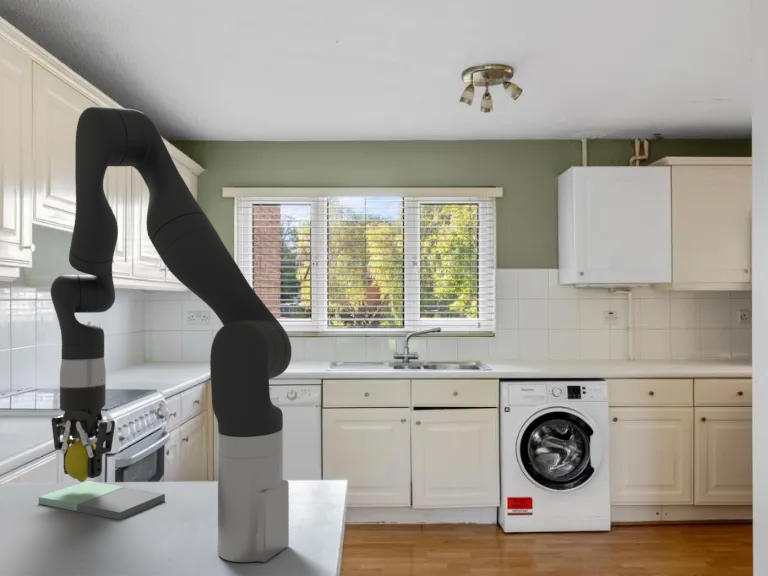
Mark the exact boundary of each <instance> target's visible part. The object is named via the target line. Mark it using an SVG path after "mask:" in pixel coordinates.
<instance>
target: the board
mask: <svg viewBox="0 0 768 576" xmlns="http://www.w3.org/2000/svg"><path fill="white" fill-rule="evenodd" d="M165 501H166V493H162V492H157V491H150V490H144V489H139V488H132V487H126V486H121V485H114V484H107V483H102V482H95V481H92V480H91V481H90V480H85V481H84V482H80V483H77V484H73V485H70V486H68V487H64V488H61V489H58V490H55V491H52V492H50V493H47V494H42V495H40V496H38V504H39V505H42V506H43V505H44V506H45V505H46V506H49V507H53V508H55V507H56V508H58V509H65V510H69V511H75V512H79V513H83V514H90V515H95V516H99V517H105V518H110V519H114V520H122V519H125V518H127V517H129V516H132V515H134V514H136V513H139V512H141V511H143V510H146V509H147V508H148V509H149V508H150V507H152V506H155V505H157V504H159V503H162V502H165Z"/></svg>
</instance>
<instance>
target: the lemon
mask: <svg viewBox="0 0 768 576" xmlns="http://www.w3.org/2000/svg"><path fill="white" fill-rule="evenodd" d="M71 444H72V443H71ZM93 448H94V450H95V449H96V445H95V444H93ZM88 458H89V456H88V452H87V449H86V447H85V446H83V444H82V440H81V439H80V440H79V441H77V442H75V443H74V444H72V445H71V446H70V448H69V449H68V451H67V454H66V458H65V467H66V471H67V473H68V474H67V475H69V477H71V478H72V479H75V480H77V481H78V482H80V483H82V482H85V481H87V479H88V478H89V477H88Z"/></svg>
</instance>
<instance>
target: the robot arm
mask: <svg viewBox="0 0 768 576" xmlns="http://www.w3.org/2000/svg"><path fill="white" fill-rule="evenodd" d="M74 148H75V149H74V150H75V152H74V153H75V159H74V161H75V169H74V170H75V173H74V174H75V176H74V178H75V179H74V180H75V218H74V225H73V230H72V237H71V242H70V248H69V252H68V261H69V264H70V266H71V267H72V268H73V269H74V270H76V271H78V272H80V273H83V274H60V275H59V276H58V277H56V278H55V279H54V281H53V282H52V284H51V286H50V297H51V302H52V304H53V305H52V306H53V308H54V311H55V314H56V317H57V320H58V321H57V322H58V324H59V328H60V335H61V363H60V368H59V409H60V411H62V412H64V413H63V415H58V416H53V417H52V418H51V428H52V438H53V445H54V449H55V450H59V451H60V452H61V454H63V473H64V475H69V474H68V473H67V471H66V467H65V458H66V454H67V451H68V449H69V448H70V446H71V445H72V444H74V443H75V442H77V441H79V440H80V439H81V440H82V444H83V446H85V447H86V449H87V452H88V456H89V458H88V478H89V479H95V478H98V477H100V476H101V474H102V472H103V455H104V454H108V453H110V452H112V447H113V441H114V434H115V426H116V421H115V420H114V419H110V420H106V419H104V418H103V415H102V409H103V408H104V407H105V406H106V400H107V399H106V398H107V397H106V396H107V395H106V386H107V384H106V382H107V381H106V380H107V377H106V374H107V370H106V363H105V331H104V329H103V328H101V326H100V327H99V326H96V325H92V324H91V325H89V324H85V323H82V322H80V321H79V320H78V319H77V318H76V315H75V314H78V313H79V314H83V313H84V314H88V313H93V314H94V313H95V314H96V313H104V312H107V311H108V310H110V309H111V308H112V307H113V306H114V303H115V300H116V289H115V285H114V278H113V260H114V256H115V251H116V247H117V242H118V235H119V226H118V220H117V218H116V216H115V213H114V211H113V209H112V207H111V204H110V203H109V201H108V198H107V196H106V193H105V190H104V179H105V174H106V171H107V168H108V167H133V168H134V169H136V171H138V173H139V174H140V176H141V177H142V179H143V181H144V183H145V185H146V187H147V188H148V189H147V190H148V194H149V199H148V205H147V212H146V221H145V222H146V232H147V235H148V236H147V237H148V239H149V240H150V242H151V244H152V246H153V247H154V249H155V250H156V252H157V254H158V255H159V257H160V258H161V260H162V262H163V264H164V265H165V266H166V268H167V269H168V270H169V271H170V273H171V274H172V275H173V276H174V277H175V278H176V279H177V280H178V281H179V282H180V283H181V284H182V285H183V286H185V287H186V288H187V289H188V290H189V291H191V292H192V294H194V295H195V296H197V297H198V298H199V299H200V300H201V301H203V302H204V303H205V304H206V305H207V306H208V307H209V308H210V309H211V310H212V311H213V312H214V313H215V315H216V316H217V317H218V319H219V320H220V322H221V323H222V325H223V326H221V328H220V329H218V331H217V332H216V334H215V336H213V341H212V344H211V348H210V360H209V366H210V368H209V369H210V386H211V387H210V389H211V404H212V411H213V414H214V415H215V418H216V421H217V555H218V556H219V557H220V558H222V559H223V560H226V561H229V562H232V563H233V562H234V563H251V562H253V563H254V562H261V563H266V562H267V561H269V560H271V558H273V557H274V556H276V555H277V554H279V553H280V552H282V551H283V550H284V549H286V548H287V547H289V546H290V545H289V535H290V533H289V531H290V529H289V527H290V525H289V524H290V523H289V521H290V516H289V515H290V513H289V510H290V507H289V505H290V504H289V503H290V502H289V499H290V497H289V492H290V491H289V490H290V488H289V481H288V480H287V479H284V473H283V472H284V467H283V465H284V464H283V461H284V460H283V458H284V456H283V453H284V450H283V449H284V440H283V439H284V438H283V437H284V434H283V433H284V429H283V428H284V416H283V411H282V409H281V408H280V407H279V406H278V405H277V406H276V405H275V404H273V402H272V399H271V393H270V379H273V378H276V377H278V376H280V375H282V374H283V373H284V372H285V371H286V370H287V369H288V367H289V365H290V363H291V360H292V354H293V353H292V345H291V344H292V343H291V340H290V337H289V336H288V333H287V331H286V330H285V328H284V327H283V326H282V324H281V323H280V322H279V320H278V319H277V318H276V316H275V315H274V313H272V311H270V309H269V308H268V307H267V306H266V305H265V303H264V302H263V301H262V299H261V298H260V297H259V295H258V294H257V292H256V291H255V290H254V289H253V287H252V286H251V285H250V283H249V282H248V280H247V279H246V277H245V275H244V274H243V272H242V270H241V269H240V268H239V266H238V264H237V262H236V261H235V258H233V256H232V255H231V253H230V252H229V250H228V249H227V247H226V245H225V244H224V242H223V240H222V239H221V237H220V235H219V233H218V232H217V230H216V228H215V227H214V226H213V224H212V222H211V221H210V219H209V218H208V216H207V214H206V213H205V212H204V210H203V209H202V207H201V206H200V204H199V203H198V202H197V200H196V199H195V197H194V195H193V193H192V192H191V190H190V189H189V187H188V185H187V184H186V183H187V182H185V180H184V179H183V177H182V175H181V173H180V172H179V170H178V168H177V166H176V164H175V162H174V160H173V158H172V156H171V154H170V152H169V150H168V148H167V146H166V144H165V141H164V139H163V138H162V135H161V134H160V131H159V130H158V128H157V126H156V125H155V123H154V121H152V118H150V117H149V116H148V115H147V114H146V113H145V112H143V111H140V110H138V109H133V108H122V107H112V106H111V107H110V106H99V105H98V106H96V105H95V106H89V107H86V108H85V109H84V110H83V111H82V113H81V114H80V115H79V118H78V121H77V124H76V132H75V147H74ZM61 436H62V438H61ZM104 443H105V444H104ZM93 444H95V445H96V449H95V450H94V448H93Z"/></svg>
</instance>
